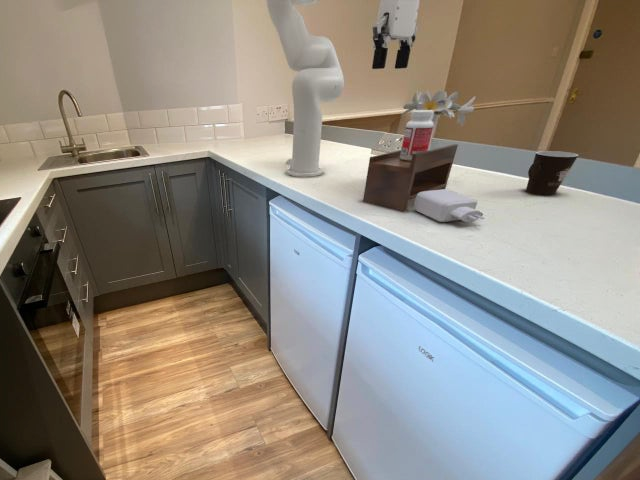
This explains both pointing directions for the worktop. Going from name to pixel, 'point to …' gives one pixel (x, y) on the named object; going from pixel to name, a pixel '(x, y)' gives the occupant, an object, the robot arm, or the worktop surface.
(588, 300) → the worktop surface
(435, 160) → the box
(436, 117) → the flower vase
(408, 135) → the pill bottle
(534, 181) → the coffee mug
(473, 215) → the charger
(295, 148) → the robot arm
